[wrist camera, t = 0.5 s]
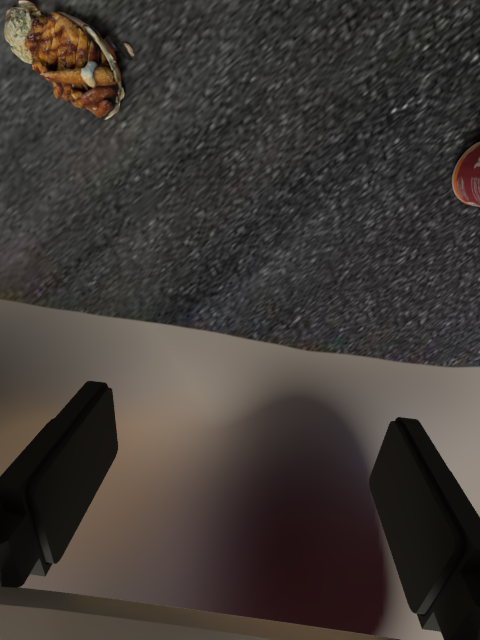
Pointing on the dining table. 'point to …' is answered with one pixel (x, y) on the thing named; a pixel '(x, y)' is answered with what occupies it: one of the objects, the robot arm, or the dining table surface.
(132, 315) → the dining table surface
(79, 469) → the robot arm
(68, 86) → the orange brown oval heap
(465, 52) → the dining table surface
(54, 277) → the dining table surface
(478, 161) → the pill bottle
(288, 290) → the dining table surface
